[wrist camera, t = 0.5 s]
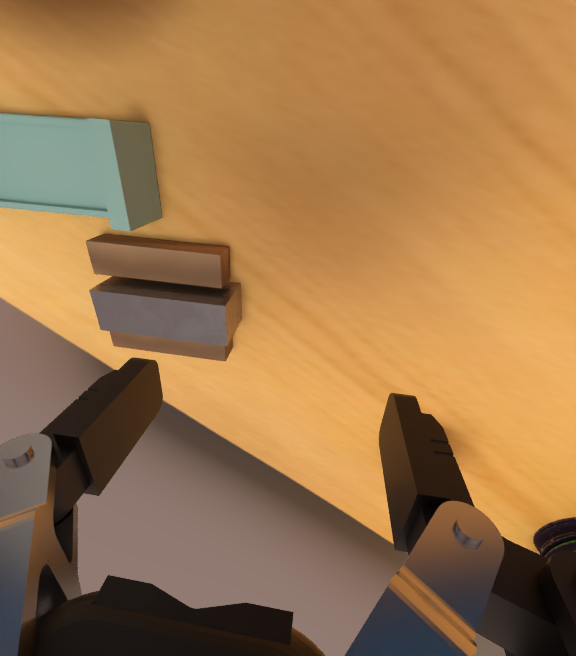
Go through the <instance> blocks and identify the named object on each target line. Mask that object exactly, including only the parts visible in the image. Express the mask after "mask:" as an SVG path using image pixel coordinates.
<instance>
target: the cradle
mask: <svg viewBox="0 0 576 656" xmlns="http://www.w3.org/2000/svg"><path fill="white" fill-rule="evenodd" d="M0 207H2V208H12V209H22V210H32V211H42V212H53V213H63V214H73V215H83V216H93V217H103V218H109V220H110V225H111V229H114V230H124V231H132V230H134V229H137V228H139V227H141V226H144V225H146V224H148V223H151V222H153V221H155V220H158V219H160V218H162V212H161V205H160V197H159V190H158V183H157V176H156V168H155V161H154V154H153V146H152V139H151V132H150V125H149V123H140V122H129V121H118V120H107V119H93V118H87V119H83V118H68V117H54V116H39V115H25V114H11V113H0Z"/></svg>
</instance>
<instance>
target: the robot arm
mask: <svg viewBox="0 0 576 656" xmlns="http://www.w3.org/2000/svg"><path fill="white" fill-rule="evenodd" d="M162 399H163V394H162V388H161V381H160V375H159V369H158V364H157V362H156V361H155V360H149V359H141V358H131V359H130V360H128V361H127V362H126V363H125V364H124V365H123V366H122V367H121V368H120V369H119V370H114V371H112V372H110V373H108V374H106V375H104V376H102V377H101V378H99V379H98V380H97V381H96V382H95V383H94V384H93V385H91V386H90V388H88V391H85V392H84V393H83V394H82V395H81V396H79V399H78V400H77V399H76V400H75V401H74V402H73V403H72V404H71V405H70V406H69V407H67V408H66V409H65V410H64V411H63V412H62V413H61V414H60V415H59V416H58V417H57V418H55V419H54V420H53V421H52V422H51V423H50V424H49V425H48V426H47V427H46V428H45V429H43V430H42V431H41V432H40V433H39V434H38V433H35V434H26V435H22V436H19V437H16V438H13V439H11V440H9V441H7V442H5V443H3V444H2V445H0V656H325V655H324V654H323V652H322V651H321V650H320V649H319V648H318V647H317V646H316V645H315V644H314V643H313V642H312V641H311V640H309V639H308V638H307V637H306V636H305V635H303V634H302V633H300V632H299V631H297V630H295V629H294V628H292V621H293V612H289V611H284V610H280V609H274V608H270V607H264V606H260V605H255V604H249V603H241V604H233V605H225V606H216V607H208V608H200V609H194V608H190V607H188V606H187V605H185V604H183V603H182V602H180V601H178V600H177V599H175V598H174V597H172V596H170V595H169V594H167V593H166V592H164V591H162V590H161V589H159V588H158V587H156V586H154V585H153V584H150V583H144V582H140V581H134V580H130V579H125V578H120V577H115V576H109V575H108V576H107V578H106V580H105V582H104V583H103V585H102V587H101V589H100V591H96V592H92V593H88V594H84V595H82V592H81V587H80V582H79V577H78V506H77V503H76V502H77V500H79V498H80V497H81V495H82V494H83V493H85V494H91V495H97V496H99V495H100V494H101V492H102V491H103V490H104V488H105V487H106V485H107V484H108V482H109V481H110V479H111V478H112V477H113V475H114V474H115V472H116V471H117V470H118V468H119V467H120V466H121V464H122V463H123V461H124V460H125V458H126V457H127V456H128V454H129V453H130V451H131V450H132V449H133V447H134V446H135V444H136V443H137V441H138V440H139V439H140V437H141V436H142V434H143V433H144V432H145V430H146V429H147V427H148V426H149V424H150V423H151V422H152V420H153V419H154V418H155V416H156V415H157V413H158V412H159V410H160V407H161V404H162ZM379 447H380V454H381V461H382V467H383V474H384V481H385V488H386V494H387V501H388V508H389V514H390V521H391V528H392V534H393V541H394V548H395V550H398V551H404V552H408V555H409V556H408V558H407V560H406V561H405V563H404V565H403V566H402V568H401V569H400V571H399V572H397V573H396V574H395V575H394V577H393V579H392V580H391V581H390V583H389V584H388V586H387V588H386V589H385V591H384V593H383V594H382V596H381V597H380V599H379V601H378V602H377V604H376V606H375V607H374V609H373V610H372V612H371V614H370V615H369V617H368V619H367V620H366V622H365V623H364V625H363V627H362V628H361V630H360V632H359V633H358V635H357V636H356V638H355V640H354V641H353V643H352V645H351V646H350V648H349V649H348V651H347V653H346V654H345V656H475V653H476V643H475V642H474V639H475V635H476V633H478V634H480V635H481V636H483V637H485V638H487V639H488V640H490V641H492V642H493V643H495V644H497V645H499V646H500V647H502V648H504V650H505V653H506V656H576V552H575V551H570V550H560V551H557V552H555V553H554V554H553V555H552V556H551V557H550V558H549V559H548V558H546V557H543V556H541V555H539V554H537V553H535V552H533V551H530V550H528V549H526V548H524V547H522V546H519V545H517V544H515V543H513V542H511V541H509V540H507V539H506V538H504V537H502V536H501V534H500V532H499V531H498V529H497V527H496V526H495V525H494V523H493V522H492V521H491V520H490V519H489V518H488V517H487V516H486V515H485V514H484V513H482V512H481V511H480V510H478V509H476V508H475V506H474V504H473V502H472V499H471V497H470V494H469V492H468V489H467V487H466V484H465V482H464V479H463V477H462V474H461V472H460V469H459V467H458V464H457V462H456V459H455V457H453V452H452V449H451V447H450V445H449V444H448V439H447V437H446V434H445V432H444V429H443V427H442V426H441V425H440V424H439V423H438V421H437V420H436V419H435V418H434V417H433V416H432V415H431V414H424V413H421V410H420V407H419V404H418V401H417V399H416V397H415V396H411V395H403V394H396V393H391V394H390V395H389V398H388V401H387V405H386V408H385V412H384V416H383V419H382V423H381V427H380V432H379Z"/></svg>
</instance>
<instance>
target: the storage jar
mask: <svg viewBox="0 0 576 656" xmlns="http://www.w3.org/2000/svg"><path fill="white" fill-rule="evenodd" d="M533 540H534V544H535V546H536V548H537V550H538V551H539V552H540V555H541V556H543V557H546V558H548V559H549V558H550V557H551V556H552V555H553V554H554V553H555V552H557V551H560V550H570V551H575V552H576V518H567V519H562V520H558V521H555V522H552V523H549V524H547V525H545V526H543V527H542V528H540V529H539V530H538V531H537V532H536V533H535V535H534V539H533Z"/></svg>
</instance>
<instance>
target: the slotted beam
mask: <svg viewBox="0 0 576 656" xmlns="http://www.w3.org/2000/svg"><path fill="white" fill-rule="evenodd" d="M86 244H87V248H88V252H89V256H90V259H91V263H92V267H93V270H94V274H101V275H110V276H119V277H127V278H136V279H144V280H153V281H162V282H170V283H179V284H188V285H196V286H205V287H214V288H223V286H224V285H225V284H226V283H227V281H228V280H229V279H230V258H229V247H227V246H217V245H208V244H198V243H188V242H179V241H169V240H159V239H150V238H140V237H131V236H121V235H111V234H102V235H99V236H97V237H94V238H92V239H89V240H87V241H86ZM110 334H111V338H112V342H113V345H114V346H116V347H124V348H131V349H138V350H145V351H153V352H160V353H167V354H175V355H182V356H189V357H197V358H204V359H211V360H219V361H226V360H227V358H228V356H229V354H230V352H231V350H232V348H233V344H232V338H231V340H230V342H229V344H228V346H221V345H214V344H206V343H198V342H191V341H183V340H175V339H167V338H160V337H152V336H144V335H137V334H129V333H121V332H114V331H110Z"/></svg>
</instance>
